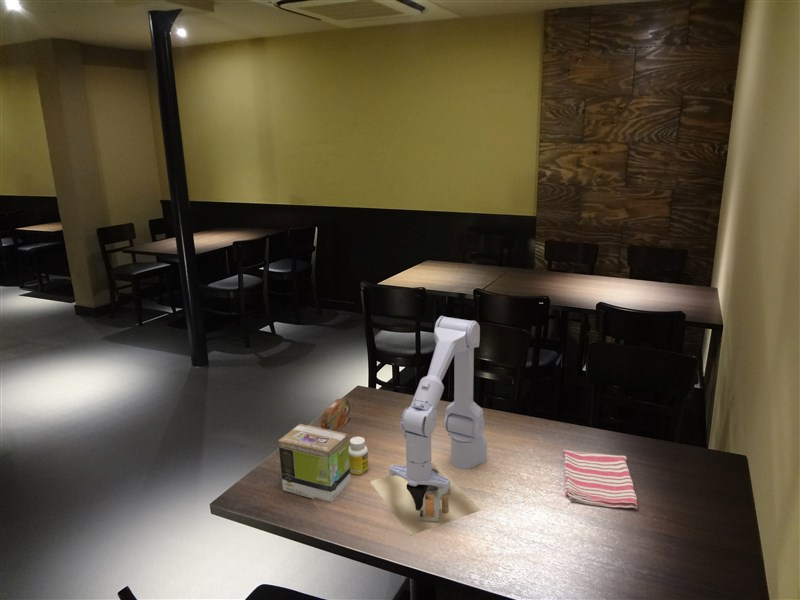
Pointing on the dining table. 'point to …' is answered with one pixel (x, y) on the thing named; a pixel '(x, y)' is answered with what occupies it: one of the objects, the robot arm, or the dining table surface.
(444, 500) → the dowel
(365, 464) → the supplement bottle
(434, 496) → the crank
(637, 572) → the dining table surface
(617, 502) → the dish towel
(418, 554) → the dining table surface
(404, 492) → the board
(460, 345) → the robot arm
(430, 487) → the post
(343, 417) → the brown flat packet
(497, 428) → the dining table surface
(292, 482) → the tea box
